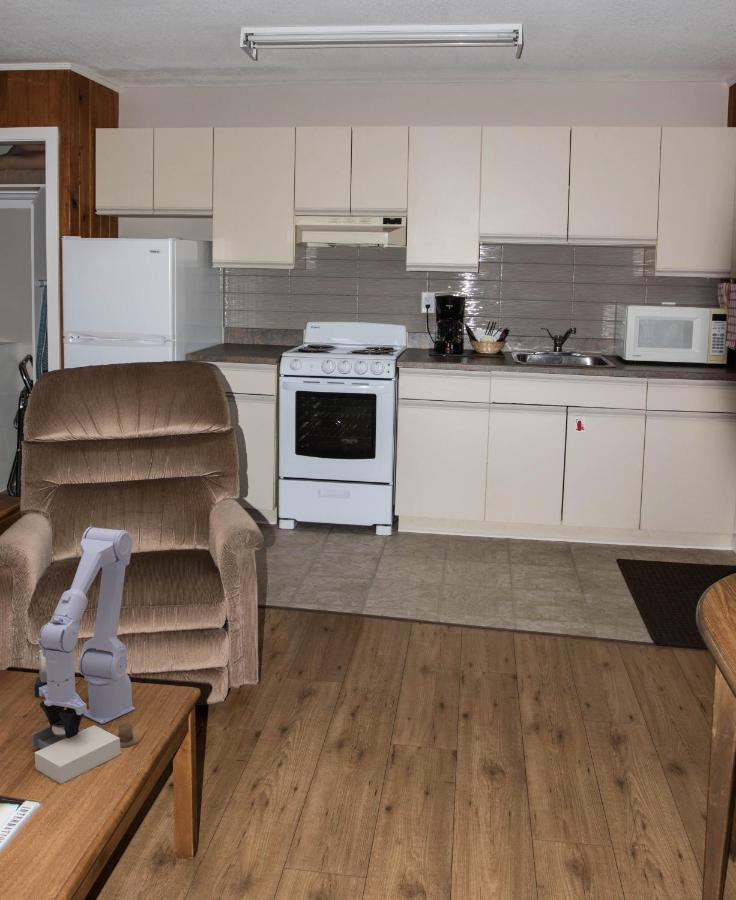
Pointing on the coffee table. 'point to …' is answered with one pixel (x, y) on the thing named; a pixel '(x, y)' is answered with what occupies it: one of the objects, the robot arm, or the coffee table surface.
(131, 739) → the stand
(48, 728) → the tray
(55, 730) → the disc
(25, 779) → the coffee table surface
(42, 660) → the watch
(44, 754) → the player
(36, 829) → the coffee table surface
